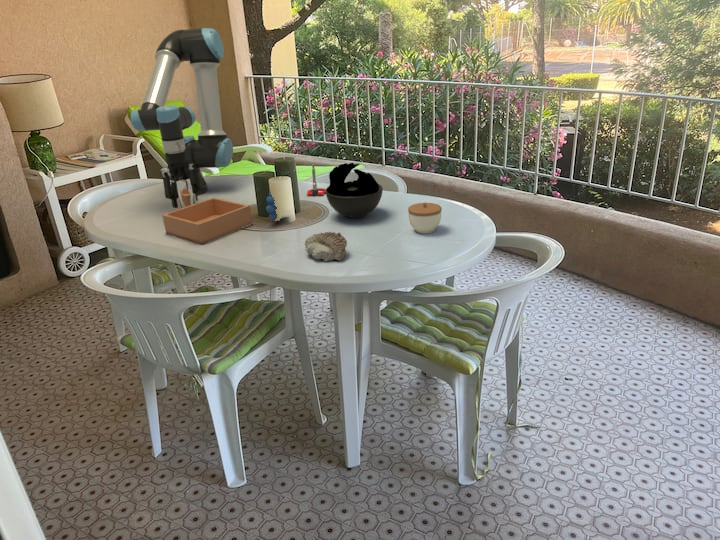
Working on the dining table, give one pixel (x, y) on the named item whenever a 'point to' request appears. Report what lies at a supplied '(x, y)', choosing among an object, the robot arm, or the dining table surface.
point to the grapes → (271, 207)
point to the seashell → (326, 246)
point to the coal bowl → (353, 192)
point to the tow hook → (315, 187)
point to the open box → (207, 220)
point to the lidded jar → (424, 216)
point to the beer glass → (184, 192)
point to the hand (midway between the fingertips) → (187, 212)
